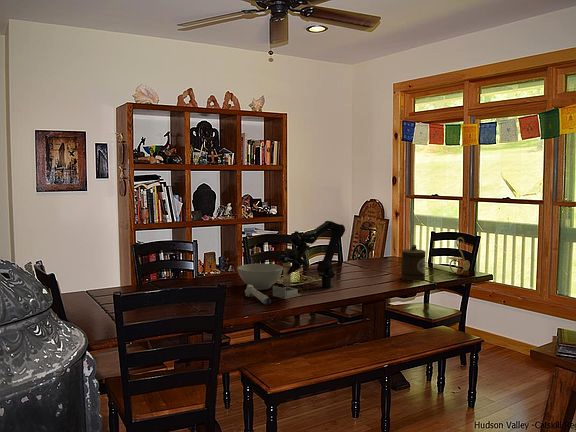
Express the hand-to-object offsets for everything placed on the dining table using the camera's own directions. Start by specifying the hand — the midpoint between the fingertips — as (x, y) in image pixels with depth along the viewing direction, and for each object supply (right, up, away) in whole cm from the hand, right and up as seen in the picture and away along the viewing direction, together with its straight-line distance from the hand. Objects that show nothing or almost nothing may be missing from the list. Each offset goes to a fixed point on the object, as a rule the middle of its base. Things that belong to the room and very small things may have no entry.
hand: (285, 273), depth 279 cm
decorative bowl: (-15, -11, +22) cm, 29 cm away
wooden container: (+82, -9, +48) cm, 95 cm away
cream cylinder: (+1, -7, +1) cm, 7 cm away
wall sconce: (+116, -8, +62) cm, 131 cm away
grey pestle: (-15, -14, -7) cm, 21 cm away
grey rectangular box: (+1, -12, +2) cm, 13 cm away
